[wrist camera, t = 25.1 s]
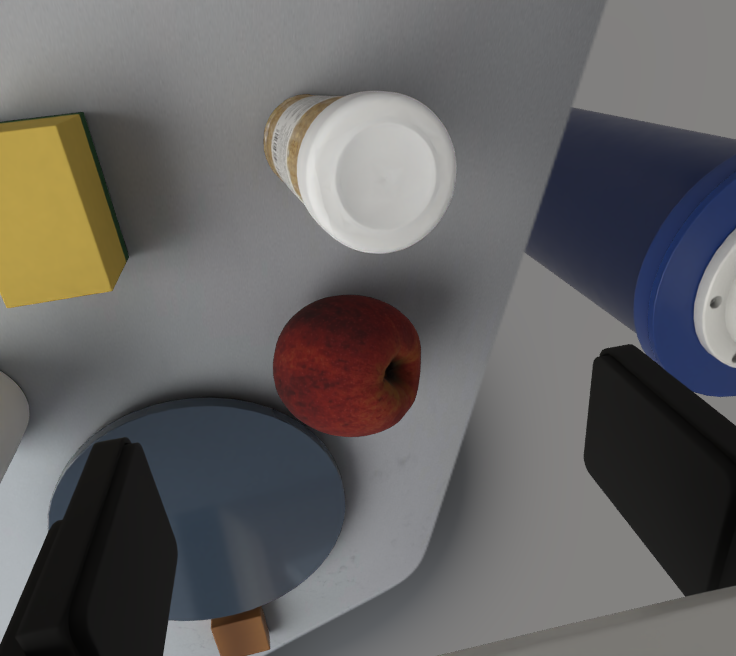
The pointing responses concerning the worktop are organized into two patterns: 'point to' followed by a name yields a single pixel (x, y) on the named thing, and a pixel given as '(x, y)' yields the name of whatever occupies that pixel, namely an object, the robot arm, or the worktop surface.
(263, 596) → the plate
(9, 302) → the sponge
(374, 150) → the sprinkles bottle
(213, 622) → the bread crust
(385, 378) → the apple
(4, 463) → the mug
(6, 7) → the worktop surface
